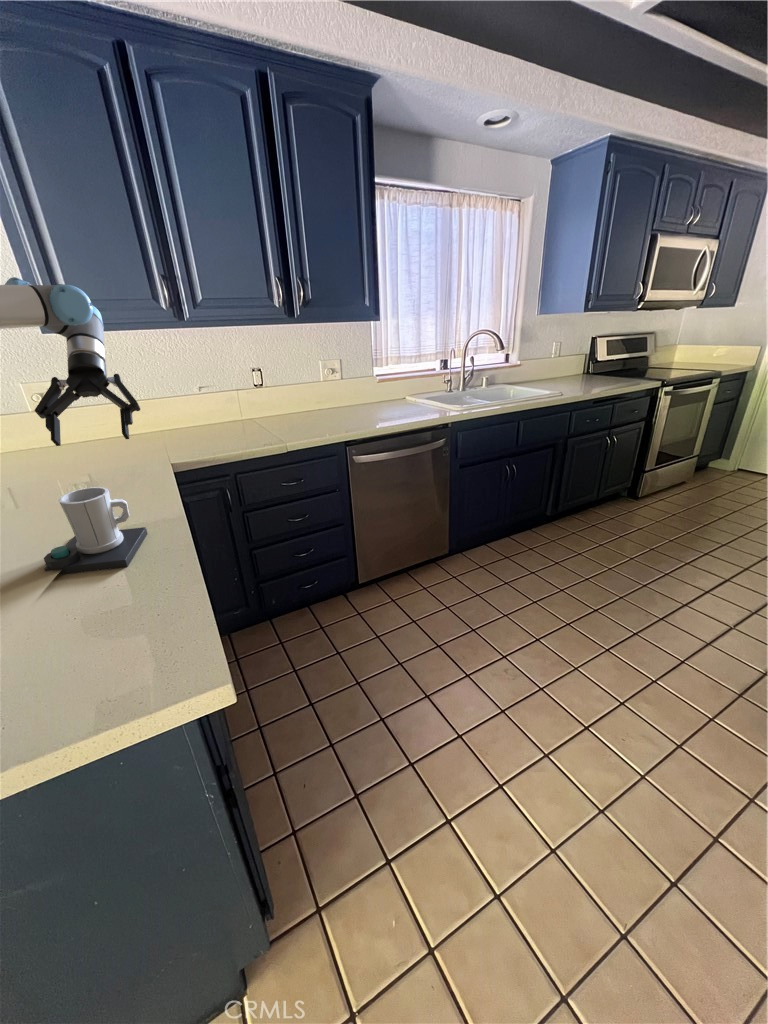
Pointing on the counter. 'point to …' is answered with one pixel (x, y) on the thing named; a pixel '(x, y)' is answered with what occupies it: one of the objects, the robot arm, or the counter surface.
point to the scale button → (59, 552)
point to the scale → (98, 555)
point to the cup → (94, 519)
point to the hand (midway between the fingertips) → (91, 439)
